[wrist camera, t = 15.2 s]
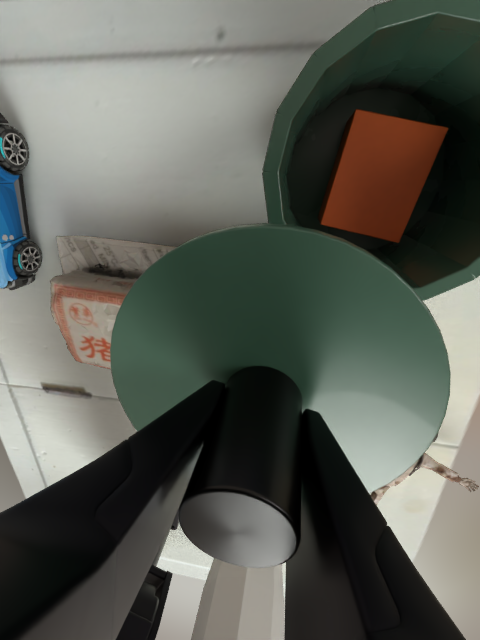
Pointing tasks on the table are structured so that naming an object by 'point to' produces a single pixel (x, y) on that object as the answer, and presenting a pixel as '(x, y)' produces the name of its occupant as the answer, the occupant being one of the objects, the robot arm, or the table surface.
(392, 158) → the orange block
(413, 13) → the bin
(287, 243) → the bin lid
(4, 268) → the toy car
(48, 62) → the table surface
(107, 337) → the packaged product
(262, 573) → the faceted bottle
